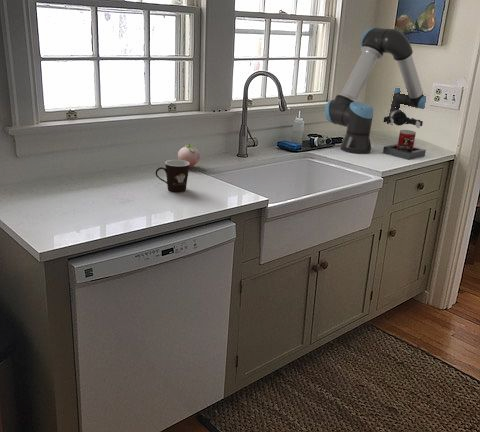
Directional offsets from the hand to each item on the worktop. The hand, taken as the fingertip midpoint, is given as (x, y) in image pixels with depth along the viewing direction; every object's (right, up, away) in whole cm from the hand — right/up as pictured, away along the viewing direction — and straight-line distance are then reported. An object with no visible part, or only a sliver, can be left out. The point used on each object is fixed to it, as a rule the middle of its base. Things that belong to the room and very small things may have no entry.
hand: (405, 124), depth 270 cm
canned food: (-2, -16, -5) cm, 17 cm away
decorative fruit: (-107, -28, -54) cm, 123 cm away
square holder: (-3, -16, -5) cm, 17 cm away
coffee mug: (-110, -38, -81) cm, 142 cm away
